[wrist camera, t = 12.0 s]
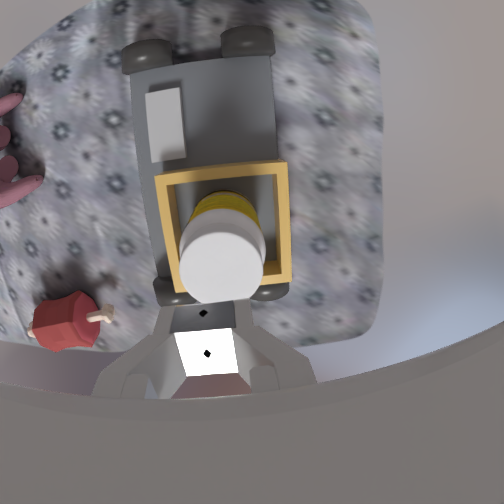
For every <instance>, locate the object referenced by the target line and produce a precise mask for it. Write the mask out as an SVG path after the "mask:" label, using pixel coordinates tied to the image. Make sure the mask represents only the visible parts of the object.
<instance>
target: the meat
mask: <svg viewBox="0 0 504 504" xmlns="http://www.w3.org/2000/svg"><path fill="white" fill-rule="evenodd" d="M113 315H115V310H114V307H113V305H111V304H105V305H104V306H103V307H102V309H101V310H98V308H97V306H96V304H95V302H94V300H93V299H92V298H90V297H89V296H87V295H86V294H85V293H83V292H81V291H79V290H77V291H76V292H74V293H72V294H71V295H69V296H67V297H64V298H61V299H57V300H43V301H42V302H41V303H40V305H39V306H38V307H37V308H36V309H35V310H34V317H33V321H32V322H31V323H30V324H29V326H30V327H28V329H27V331H28V335H29V336H30V337H34V338H35V337H36V339H37V340H38V342H39V344H40V345H41V346H43V347H46V348H48V349H50V350H52V351H54V352H57V351H60V350H62V349H65V348H69V347H75V346H84V347H92V346H93V344H94V342H95V340H96V339H97V337H98V335H99V332H100V320H104V321H106V322H107V323H111V322H112V321H113V320H114V317H113Z"/></svg>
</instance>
